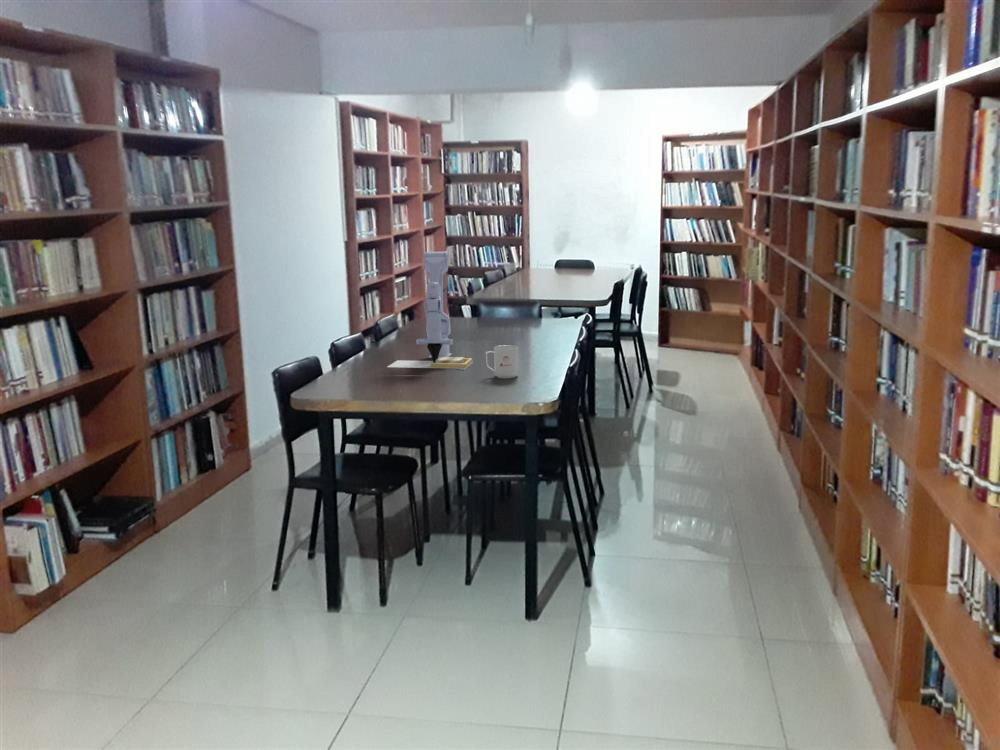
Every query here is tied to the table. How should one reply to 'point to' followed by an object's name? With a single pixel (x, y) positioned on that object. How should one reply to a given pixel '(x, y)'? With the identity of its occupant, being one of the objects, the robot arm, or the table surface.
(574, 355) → the table surface
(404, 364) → the board
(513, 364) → the mug
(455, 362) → the beige flat block
